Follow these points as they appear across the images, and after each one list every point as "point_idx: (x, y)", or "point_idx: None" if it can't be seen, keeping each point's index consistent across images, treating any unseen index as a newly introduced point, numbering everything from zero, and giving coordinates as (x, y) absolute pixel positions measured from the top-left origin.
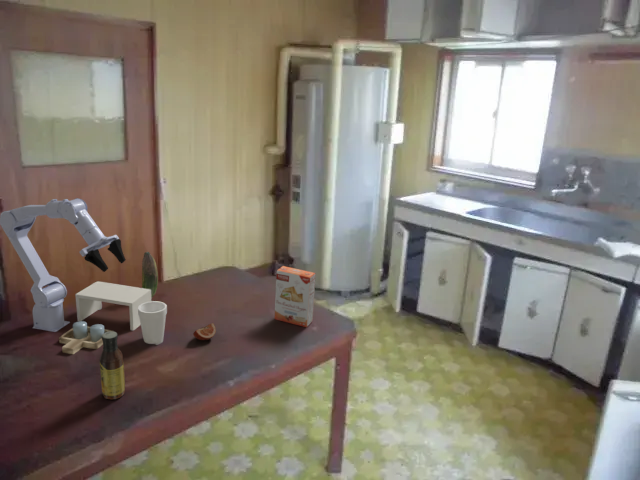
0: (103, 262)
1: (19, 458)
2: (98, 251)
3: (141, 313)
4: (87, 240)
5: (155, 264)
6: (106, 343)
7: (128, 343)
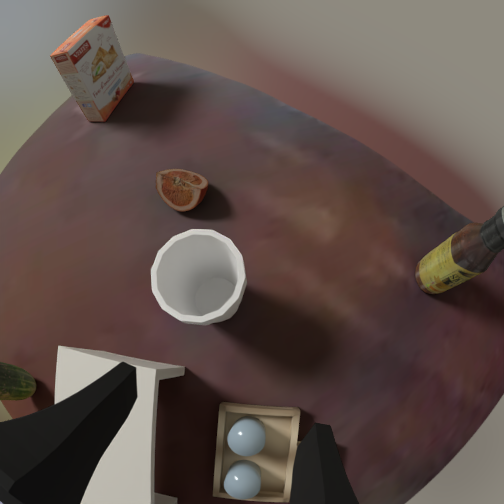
0: (334, 470)
1: None
2: None
3: (240, 295)
4: None
5: None
6: None
7: (243, 353)
